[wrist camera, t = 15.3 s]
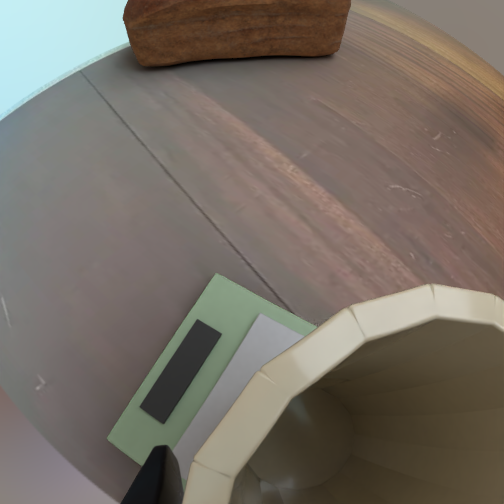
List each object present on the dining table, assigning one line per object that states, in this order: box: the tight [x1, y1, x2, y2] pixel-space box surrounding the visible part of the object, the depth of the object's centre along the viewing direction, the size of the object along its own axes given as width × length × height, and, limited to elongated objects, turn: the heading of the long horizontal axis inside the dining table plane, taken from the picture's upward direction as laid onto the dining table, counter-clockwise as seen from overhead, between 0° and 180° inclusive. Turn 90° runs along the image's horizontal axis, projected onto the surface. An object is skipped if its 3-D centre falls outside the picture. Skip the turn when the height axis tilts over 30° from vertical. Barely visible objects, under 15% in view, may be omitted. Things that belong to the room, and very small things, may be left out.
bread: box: [123, 0, 351, 67], centre depth 31 cm, size 14×28×12 cm, turn 98°
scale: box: [107, 273, 317, 491], centre depth 15 cm, size 14×12×3 cm
